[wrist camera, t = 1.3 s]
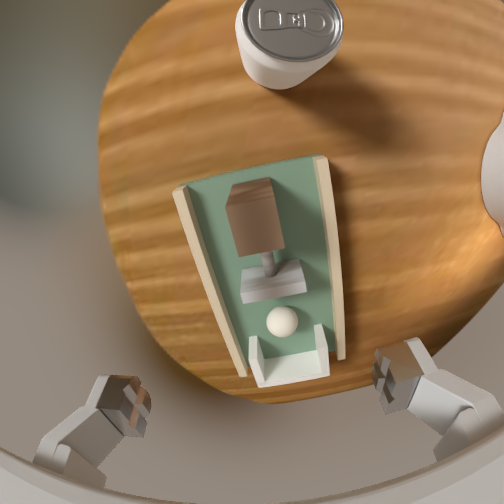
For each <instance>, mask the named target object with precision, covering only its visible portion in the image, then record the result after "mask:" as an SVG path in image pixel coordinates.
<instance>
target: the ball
mask: <svg viewBox="0 0 504 504" xmlns="http://www.w3.org/2000/svg"><path fill="white" fill-rule="evenodd" d="M266 323H267V327H268V330H269V331H270V332H271V333H272V334H273V335H275V336H277V337H287V336H290V335H291V334H292V333H294V331H295V330H296V328H297V326H298V318H297V315H296V313H295V312H294V311H293V310H292V309H291V308H289V307H286V306H279V307H276V308H274V309H273V310H271V312H270V313H269V314H268V316H267V321H266Z"/></svg>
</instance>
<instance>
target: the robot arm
mask: <svg viewBox="0 0 504 504" xmlns="http://www.w3.org/2000/svg"><path fill="white" fill-rule="evenodd" d="M481 189H482V196H483V201H484V204H485V207H486V209H487V211H488V213H489V215H490V216H491V218H492V219H493V220H495V221H496V222H497V223H498V224H499V226H500V229H501V232H502V235H503V237H504V113H503V117H502V120H501V123H500V125H499V126H498V127H497V129H496V130H495V131H494V132H493V134H492V135H491V137H490V139H489V141H488V144H487V146H486V149H485V153H484V157H483V162H482V170H481ZM375 358H376V360H377V361H376V362H375V363H374V364H373V368H372V379H373V383H374V386H375V388H376V390H377V391H379V392H380V393H381V397H380V402H381V405H382V407H383V410H384V412H385V414H389V413H392V412H396V411H400V410H403V409H406V408H408V410H409V411H410V412H412V413H413V414H414V415H416V416H417V417H418V418H420V419H421V420H422V421H424V422H425V423H426V424H427V425H429V426H430V427H431V428H432V429H434V430H435V431H436V432H438V433H439V434H440V435H442V436H443V437H442V438H441V439H440V441H439V442H438V443H437V445H436V446H435V448H434V449H433V451H434V454H435V457H436V460H437V462H436V463H434V464H431V465H429V466H426V467H424V468H422V469H419V470H417V471H414V472H411V473H409V474H406V475H403V476H401V477H398V478H395V479H392V480H388V481H385V482H382V483H379V484H375V485H372V486H368V487H365V488H361V489H357V490H353V491H349V492H345V493H340V494H335V495H330V496H325V497H320V498H313V499H307V500H299V501H292V502H283V503H272V504H504V413H503V411H502V410H501V408H500V406H499V404H498V403H497V401H496V399H495V398H494V396H493V395H492V394H490V393H489V392H487V391H485V390H483V389H481V388H479V387H477V386H475V385H473V384H471V383H469V382H467V381H465V380H463V379H461V378H459V377H457V376H456V375H454V374H452V373H450V372H448V371H446V370H444V369H438V368H437V366H436V364H435V363H434V361H433V360H432V358H431V356H430V355H429V353H428V351H427V350H426V348H425V347H424V345H423V343H422V342H421V340H420V339H419V338H418V337H415V338H412V339H408V340H405V341H401V342H397V343H393V344H390V345H386V346H382V347H379V348H377V349H376V351H375ZM140 385H141V381H140V380H139V378H138V377H137V376H123V375H107V374H101V375H100V376H98V378H97V380H96V382H95V384H94V386H93V389H92V391H91V393H90V395H89V398H88V400H87V402H86V405H85V407H83V406H82V407H80V408H79V409H78V410H76V411H75V412H74V413H73V414H71V415H70V416H69V417H68V418H66V419H65V420H64V421H63V422H61V423H60V424H59V425H57V426H56V427H55V428H54V429H52V430H51V431H50V432H49V433H47V434H46V435H45V436H44V437H43V438H42V440H41V443H40V445H39V448H38V450H37V452H36V455H35V457H34V460H33V462H30V461H27V460H25V459H23V458H21V457H19V456H17V455H15V454H13V453H11V452H9V451H7V450H6V449H4V448H2V447H0V504H194V503H182V502H174V501H166V500H158V499H152V498H146V497H141V496H135V495H131V494H125V493H121V492H117V491H113V490H108V489H105V488H104V486H105V482H106V476H105V474H103V473H102V472H101V471H99V470H98V469H97V467H98V466H99V465H100V463H101V462H102V461H103V460H104V459H105V458H106V457H107V456H108V454H109V453H110V452H111V451H112V450H113V449H114V448H115V447H116V445H117V444H118V443H119V442H120V441H121V440H122V439H123V438H124V436H131V437H144V433H145V429H146V425H147V422H146V420H145V417H146V416H147V415H148V414H149V413H150V409H151V399H150V395H149V393H148V392H147V390H146V389H144V388H143V387H141V386H140ZM270 504H271V503H270Z"/></svg>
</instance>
